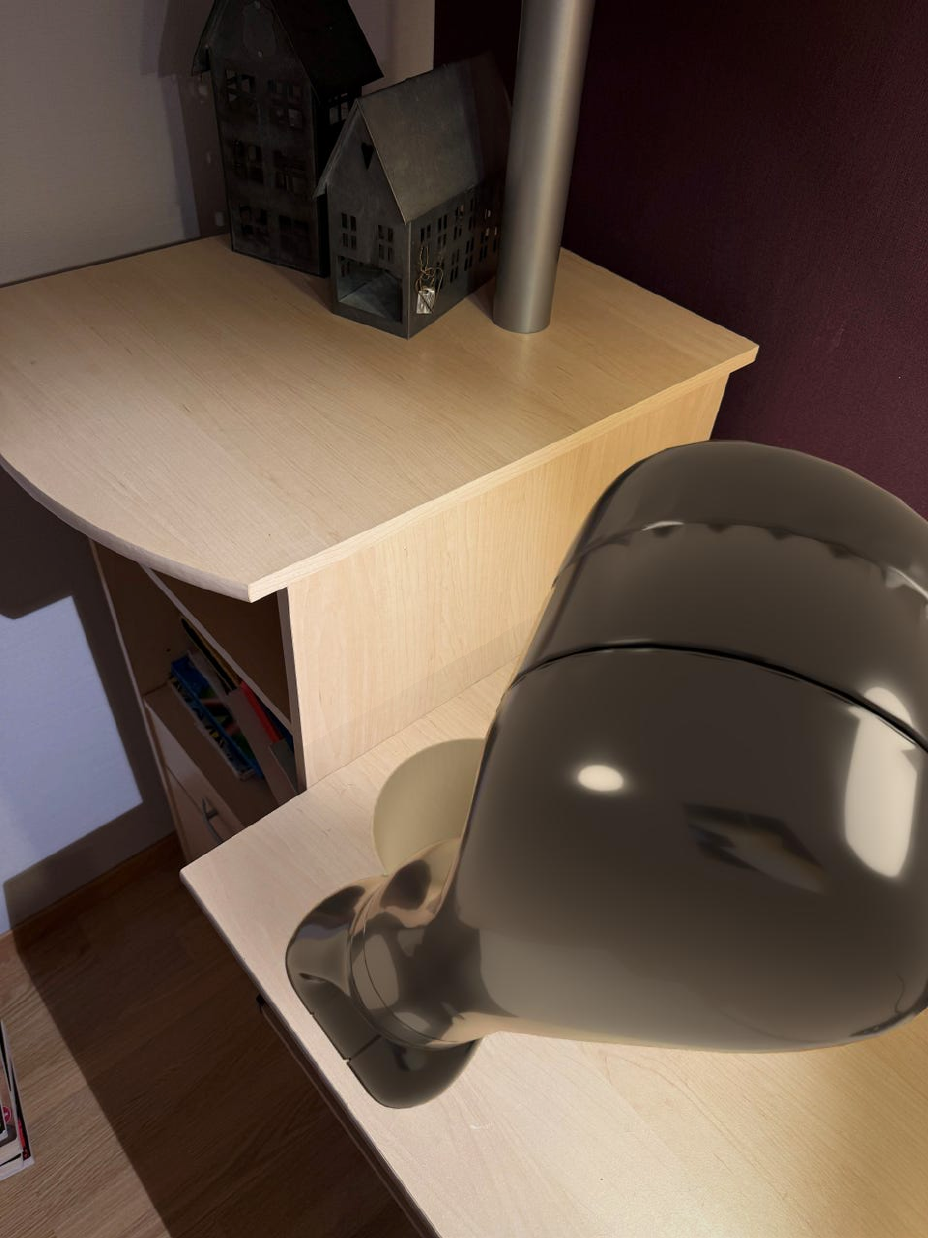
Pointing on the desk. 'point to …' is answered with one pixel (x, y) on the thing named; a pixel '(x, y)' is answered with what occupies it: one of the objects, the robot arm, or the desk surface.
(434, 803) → the bowl
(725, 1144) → the desk surface
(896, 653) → the robot arm
